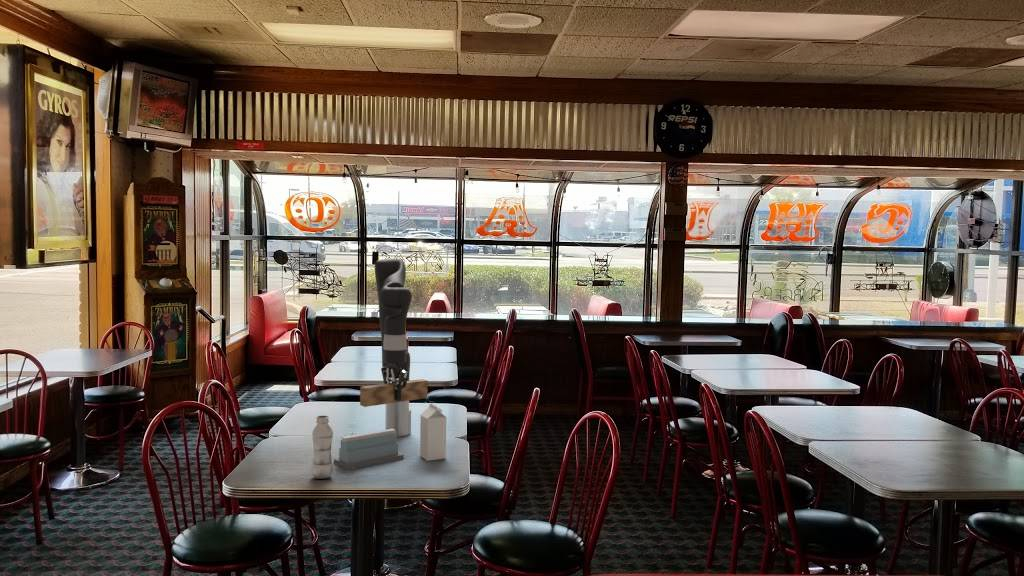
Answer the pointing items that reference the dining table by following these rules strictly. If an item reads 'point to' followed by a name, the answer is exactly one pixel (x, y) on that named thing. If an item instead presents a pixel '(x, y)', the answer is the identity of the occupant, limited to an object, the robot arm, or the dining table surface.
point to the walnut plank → (392, 393)
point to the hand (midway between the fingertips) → (394, 399)
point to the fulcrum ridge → (368, 449)
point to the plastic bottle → (322, 449)
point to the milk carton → (433, 434)
